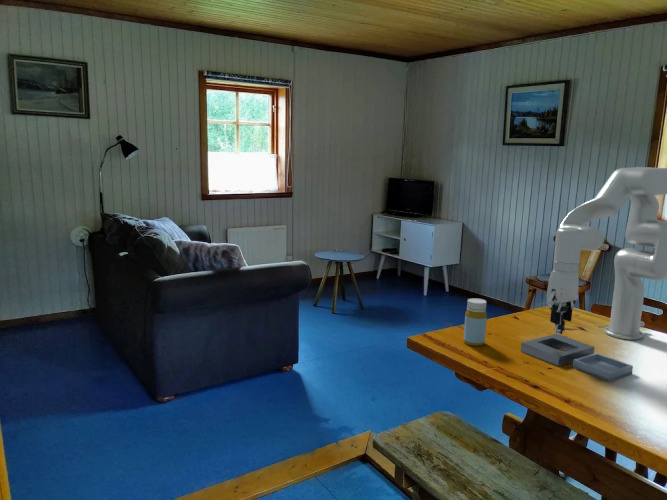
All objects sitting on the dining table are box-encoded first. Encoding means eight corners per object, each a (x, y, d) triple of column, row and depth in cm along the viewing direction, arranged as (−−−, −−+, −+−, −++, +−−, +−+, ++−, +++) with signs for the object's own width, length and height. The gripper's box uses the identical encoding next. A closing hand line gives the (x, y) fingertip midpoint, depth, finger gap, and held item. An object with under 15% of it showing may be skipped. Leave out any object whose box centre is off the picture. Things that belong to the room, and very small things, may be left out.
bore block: (555, 341, 180) (556, 333, 180) (593, 355, 168) (594, 346, 168) (520, 351, 171) (521, 342, 170) (558, 366, 159) (559, 357, 159)
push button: (567, 336, 164) (567, 306, 163) (549, 334, 167) (549, 304, 165) (569, 329, 170) (569, 300, 168) (551, 328, 173) (551, 299, 171)
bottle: (477, 348, 173) (480, 304, 170) (459, 342, 178) (462, 300, 175) (488, 343, 178) (491, 301, 175) (471, 337, 183) (474, 296, 180)
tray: (595, 360, 164) (596, 352, 164) (632, 373, 155) (633, 365, 154) (572, 367, 159) (573, 359, 158) (609, 381, 149) (610, 373, 148)
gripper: (572, 261, 172) (566, 314, 175) (538, 267, 163) (533, 322, 167) (593, 266, 166) (587, 320, 169) (559, 272, 157) (553, 329, 160)
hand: (560, 321), depth 168 cm, fingers closed on push button, 5 cm apart
